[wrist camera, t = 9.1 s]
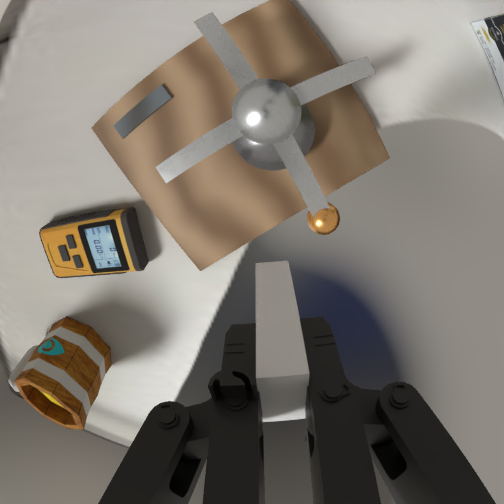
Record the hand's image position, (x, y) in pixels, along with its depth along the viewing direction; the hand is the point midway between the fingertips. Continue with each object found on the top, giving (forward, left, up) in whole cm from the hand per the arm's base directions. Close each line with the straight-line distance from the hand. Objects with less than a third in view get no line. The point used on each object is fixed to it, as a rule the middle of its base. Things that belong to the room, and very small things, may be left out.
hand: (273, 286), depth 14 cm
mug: (+44, +3, -20) cm, 49 cm away
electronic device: (+22, -7, -20) cm, 31 cm away
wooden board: (-2, -7, -19) cm, 21 cm away
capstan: (-5, -7, -18) cm, 20 cm away
